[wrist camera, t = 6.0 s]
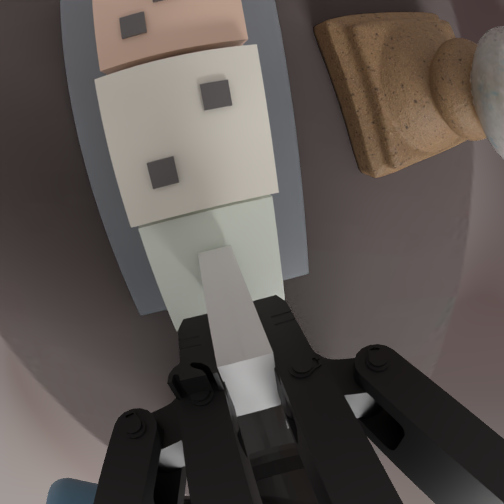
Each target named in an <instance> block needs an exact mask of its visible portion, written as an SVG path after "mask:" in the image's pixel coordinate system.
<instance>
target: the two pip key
mask: <svg viewBox="0 0 504 504" xmlns="http://www.w3.org/2000/svg"><path fill="white" fill-rule="evenodd" d="M94 81H95V86H96V92H97V98H98V103H99V108H100V113H101V118H102V123H103V127H104V132H105V136H106V140H107V145H108V149H109V153H110V157H111V161H112V165H113V168H114V172H115V176H116V179H117V183H118V187H119V190H120V194H121V197H122V200H123V204H124V207H125V210H126V213H127V217H128V220H129V223H130V226H131V228H132V227H136V226H140V225H143V224H147V223H151V222H155V221H159V220H162V219H166V218H170V217H174V216H178V215H182V214H186V213H190V212H194V211H198V210H202V209H207V208H211V207H215V206H219V205H224V204H228V203H232V202H237V201H241V200H246V199H250V198H255V197H260V196H264V195H269V194H274V193H279V189H278V182H277V174H276V166H275V159H274V152H273V144H272V137H271V130H270V123H269V117H268V110H267V103H266V97H265V90H264V84H263V78H262V72H261V66H260V60H259V54H258V48H257V44H253V45H243V46H234V47H226V48H218V49H211V50H205V51H199V52H194V53H188V54H183V55H178V56H174V57H169V58H165V59H161V60H157V61H153V62H149V63H145V64H141V65H138V66H134V67H131V68H127V69H124V70H121V71H118V72H115V73H112V74H109V75H106V76H103V77H100V78H97V79H94Z"/></svg>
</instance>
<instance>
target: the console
mask: <svg viewBox="0 0 504 504" xmlns="http://www.w3.org/2000/svg"><path fill="white" fill-rule="evenodd" d="M241 2H242V8H243V13H244V18H245V24H246V29H247V35H248V40H247V41H246V42H245V43H244V44H243V45H253V44H257V48H258V54H259V60H260V66H261V72H262V78H263V84H264V90H265V97H266V103H267V110H268V117H269V123H270V130H271V137H272V144H273V152H274V159H275V166H276V174H277V182H278V189H279V193H274V194H270V195H271V196H272V197H273V204H274V212H275V220H276V228H277V236H278V244H279V252H280V261H281V269H282V278H283V280H287V279H291V278H294V277H298V276H302V275H305V274H309V269H308V253H307V238H306V225H305V213H304V201H303V191H302V180H301V171H300V161H299V152H298V144H297V135H296V127H295V120H294V112H293V105H292V98H291V91H290V84H289V77H288V71H287V65H286V59H285V53H284V47H283V41H282V35H281V30H280V25H279V19H278V14H277V9H276V4H275V0H241ZM60 13H61V30H62V42H63V52H64V61H65V68H66V76H67V82H68V89H69V94H70V100H71V106H72V111H73V116H74V121H75V125H76V130H77V134H78V139H79V143H80V147H81V151H82V155H83V159H84V163H85V166H86V170H87V174H88V177H89V181H90V184H91V187H92V191H93V194H94V197H95V200H96V204H97V207H98V210H99V213H100V216H101V219H102V222H103V225H104V227H105V230H106V233H107V236H108V239H109V241H110V244H111V247H112V249H113V252H114V255H115V257H116V260H117V262H118V265H119V267H120V270H121V272H122V275H123V277H124V280H125V282H126V284H127V287H128V289H129V291H130V294H131V296H132V298H133V300H134V303H135V305H136V307H137V309H138V311H139V314H140V316H142V315H146V314H151V313H155V312H159V311H164V310H167V308H166V305H165V302H164V300H163V297H162V295H161V292H160V290H159V287H158V284H157V282H156V279H155V276H154V273H153V271H152V268H151V265H150V262H149V260H148V257H147V254H146V251H145V248H144V245H143V242H142V239H141V236H140V233H139V230H138V228H139V226H136V227H132V228H131V226H130V223H129V220H128V217H127V213H126V210H125V207H124V204H123V200H122V197H121V194H120V190H119V187H118V183H117V179H116V176H115V172H114V168H113V165H112V161H111V157H110V153H109V149H108V145H107V140H106V136H105V132H104V127H103V123H102V118H101V113H100V108H99V103H98V98H97V92H96V86H95V81H94V79H97V78H100V77H103V76H106V75H107V74H105V73H103V72H101V71H100V67H99V60H98V53H97V46H96V37H95V28H94V18H93V5H92V0H60ZM243 45H242V46H243Z"/></svg>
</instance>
